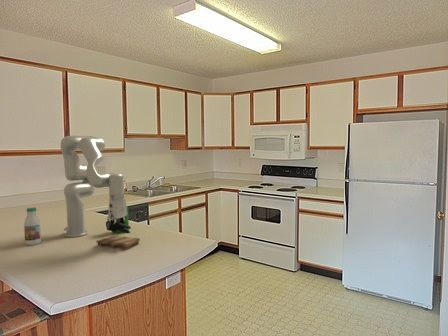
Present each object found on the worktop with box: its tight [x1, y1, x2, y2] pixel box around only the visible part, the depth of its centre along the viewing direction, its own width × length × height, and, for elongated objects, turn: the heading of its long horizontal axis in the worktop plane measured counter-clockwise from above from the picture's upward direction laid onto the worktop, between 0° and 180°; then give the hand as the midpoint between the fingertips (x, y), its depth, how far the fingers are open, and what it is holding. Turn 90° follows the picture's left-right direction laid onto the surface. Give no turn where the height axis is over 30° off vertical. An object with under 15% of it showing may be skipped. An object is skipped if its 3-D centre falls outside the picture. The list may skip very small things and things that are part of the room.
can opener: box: [105, 220, 132, 234], centre depth 175 cm, size 18×7×6 cm, turn 57°
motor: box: [111, 205, 130, 235], centre depth 203 cm, size 10×9×20 cm
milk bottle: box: [23, 206, 42, 246], centre depth 181 cm, size 8×8×20 cm
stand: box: [95, 234, 141, 251], centre depth 177 cm, size 20×11×3 cm, turn 69°
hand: (118, 229), depth 177 cm, fingers closed on can opener, 6 cm apart
